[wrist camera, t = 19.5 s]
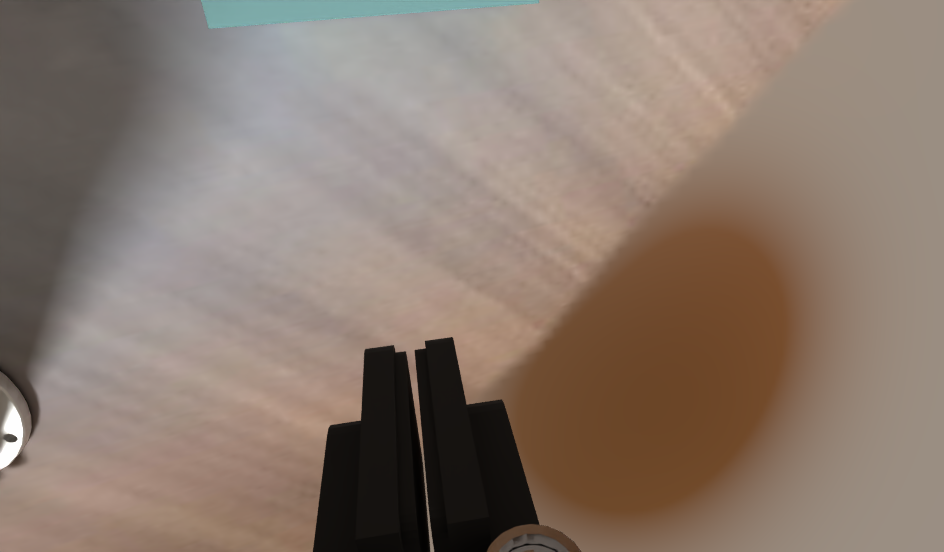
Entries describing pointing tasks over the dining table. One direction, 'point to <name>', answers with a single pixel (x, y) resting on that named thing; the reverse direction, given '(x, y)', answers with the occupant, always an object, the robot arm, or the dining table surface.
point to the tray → (327, 9)
